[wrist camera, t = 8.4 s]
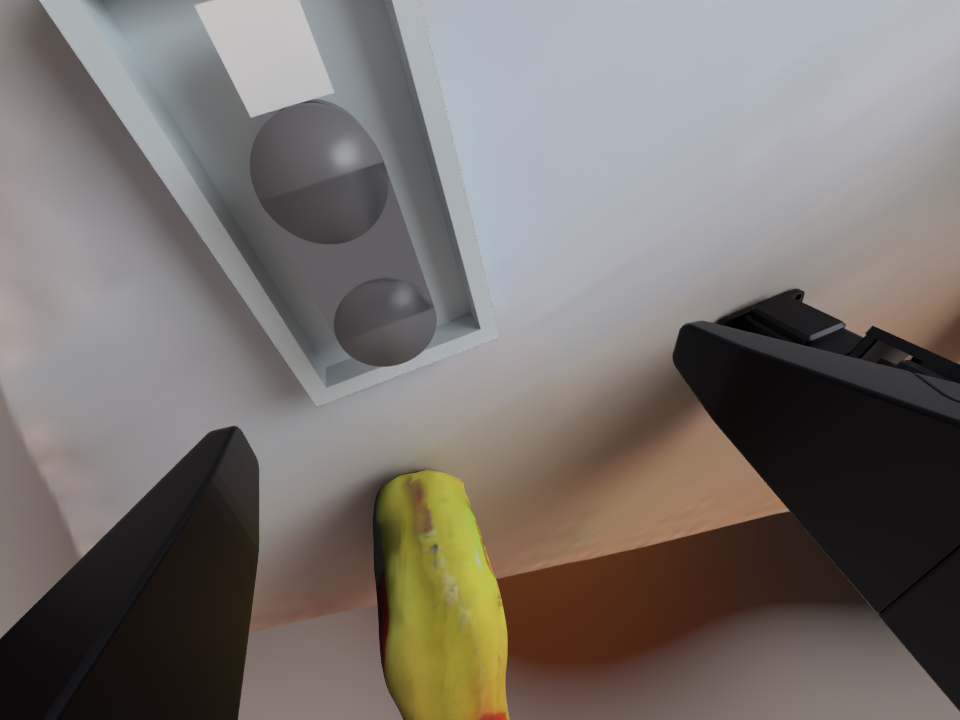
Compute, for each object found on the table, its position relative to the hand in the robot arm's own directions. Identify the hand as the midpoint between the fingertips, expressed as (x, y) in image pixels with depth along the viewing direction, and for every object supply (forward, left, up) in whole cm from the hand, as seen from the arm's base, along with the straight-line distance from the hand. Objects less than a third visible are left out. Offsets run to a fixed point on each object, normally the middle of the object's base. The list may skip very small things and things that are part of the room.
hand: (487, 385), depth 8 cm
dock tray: (+2, +2, -12) cm, 12 cm away
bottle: (-19, +6, -12) cm, 23 cm away
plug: (+2, +2, -11) cm, 11 cm away
